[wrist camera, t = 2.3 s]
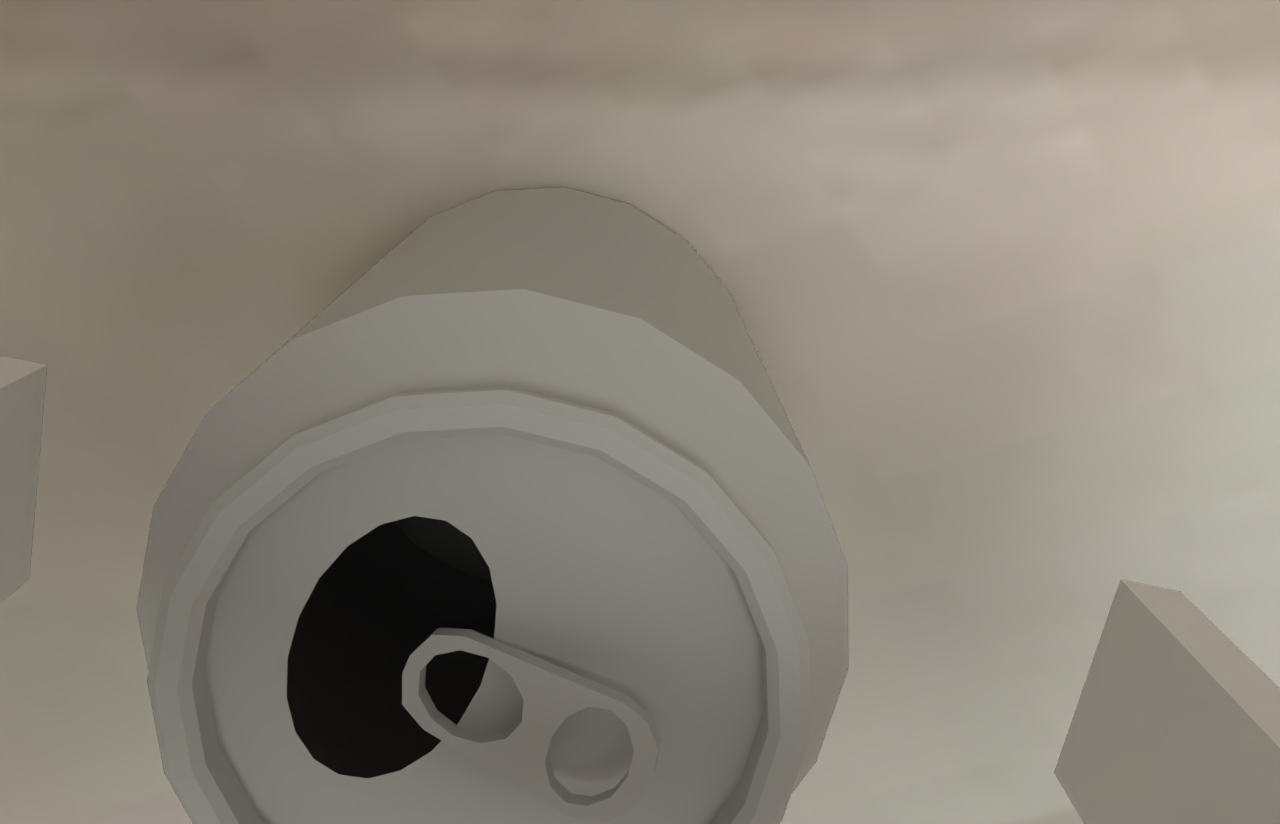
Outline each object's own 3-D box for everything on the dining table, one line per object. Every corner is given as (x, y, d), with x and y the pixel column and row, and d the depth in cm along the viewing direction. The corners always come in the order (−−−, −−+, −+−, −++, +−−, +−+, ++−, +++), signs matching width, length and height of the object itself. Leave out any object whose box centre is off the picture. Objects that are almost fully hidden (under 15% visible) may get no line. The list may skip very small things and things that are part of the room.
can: (432, 111, 21) (218, 180, 10) (817, 281, 22) (1033, 525, 11) (289, 483, 23) (-31, 906, 12) (651, 626, 24) (683, 1146, 13)
